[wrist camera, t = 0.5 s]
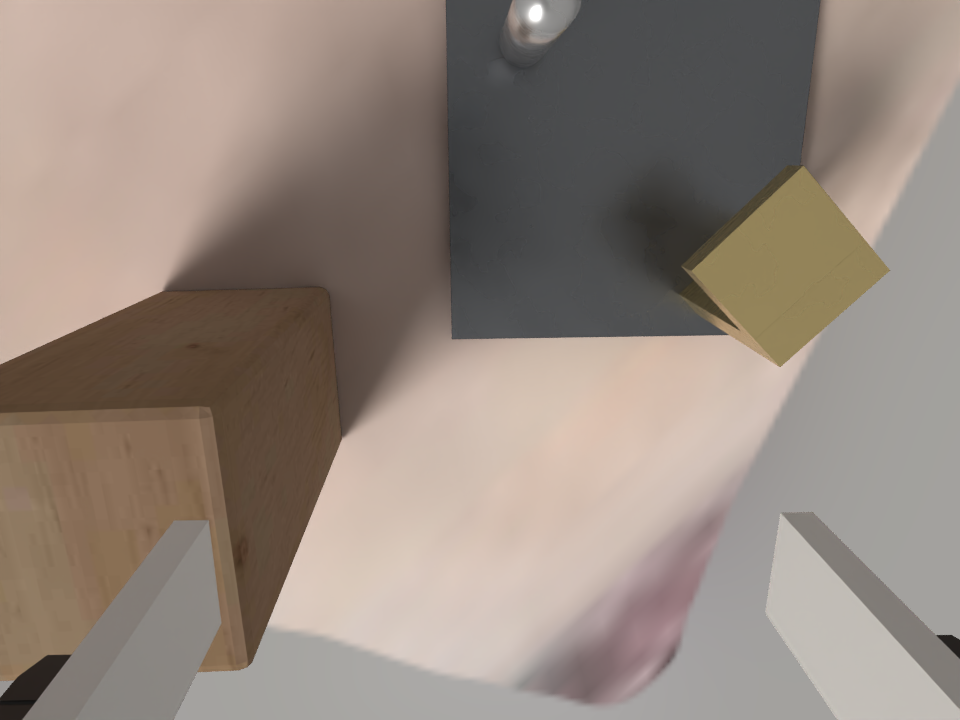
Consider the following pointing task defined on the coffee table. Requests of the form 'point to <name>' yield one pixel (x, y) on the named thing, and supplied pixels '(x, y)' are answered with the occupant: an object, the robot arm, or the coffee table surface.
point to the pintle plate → (641, 174)
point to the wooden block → (163, 459)
